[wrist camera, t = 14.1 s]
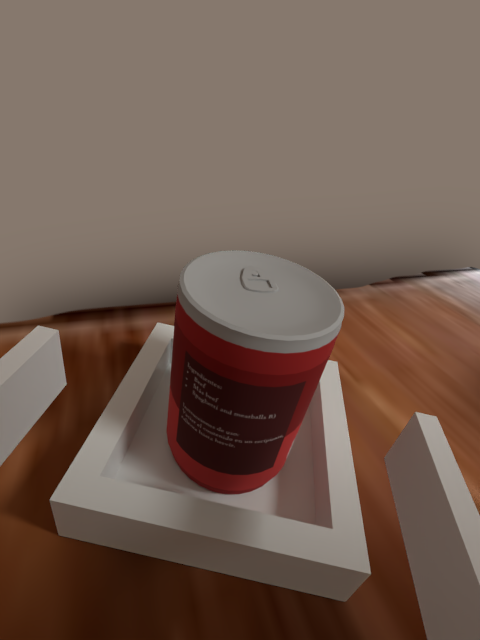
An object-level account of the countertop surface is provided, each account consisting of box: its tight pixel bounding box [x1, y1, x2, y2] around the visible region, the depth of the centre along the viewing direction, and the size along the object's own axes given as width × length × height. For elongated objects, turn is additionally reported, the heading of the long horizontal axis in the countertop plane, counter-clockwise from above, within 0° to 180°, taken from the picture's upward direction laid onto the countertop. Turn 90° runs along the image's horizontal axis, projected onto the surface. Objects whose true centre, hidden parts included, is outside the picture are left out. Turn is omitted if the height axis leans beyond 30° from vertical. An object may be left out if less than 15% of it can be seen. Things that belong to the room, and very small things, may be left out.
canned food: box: [166, 251, 344, 494], centre depth 19 cm, size 8×8×11 cm
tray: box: [50, 323, 371, 602], centre depth 21 cm, size 14×14×3 cm
